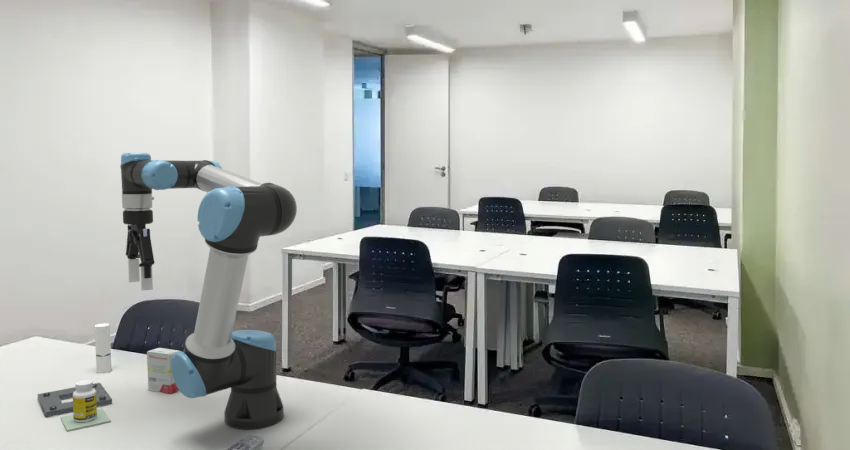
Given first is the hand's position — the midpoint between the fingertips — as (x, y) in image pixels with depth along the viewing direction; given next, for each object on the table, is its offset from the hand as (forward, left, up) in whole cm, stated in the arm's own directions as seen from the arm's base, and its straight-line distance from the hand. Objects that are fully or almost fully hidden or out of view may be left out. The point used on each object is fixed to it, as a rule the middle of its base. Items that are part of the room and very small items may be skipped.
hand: (140, 285), depth 178 cm
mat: (-6, +16, -33) cm, 37 cm away
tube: (+33, +4, -33) cm, 47 cm away
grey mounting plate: (+10, +16, -33) cm, 38 cm away
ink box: (+5, -7, -33) cm, 34 cm away
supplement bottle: (-6, +16, -32) cm, 37 cm away
